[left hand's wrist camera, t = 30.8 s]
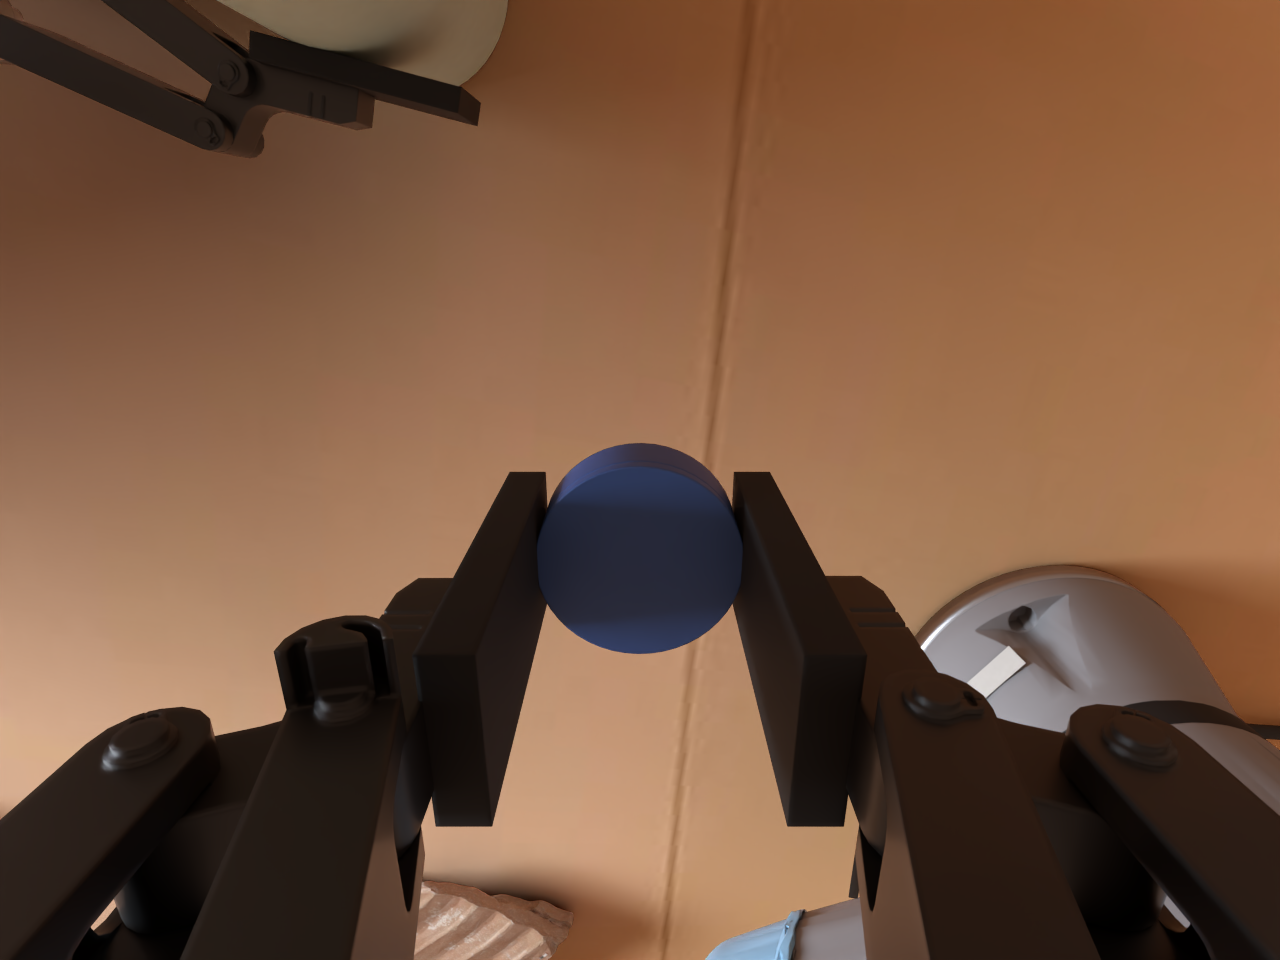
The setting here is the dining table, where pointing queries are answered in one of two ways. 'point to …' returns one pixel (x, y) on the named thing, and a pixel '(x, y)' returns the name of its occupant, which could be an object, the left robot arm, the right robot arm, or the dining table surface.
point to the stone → (486, 925)
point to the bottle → (390, 31)
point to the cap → (639, 549)
